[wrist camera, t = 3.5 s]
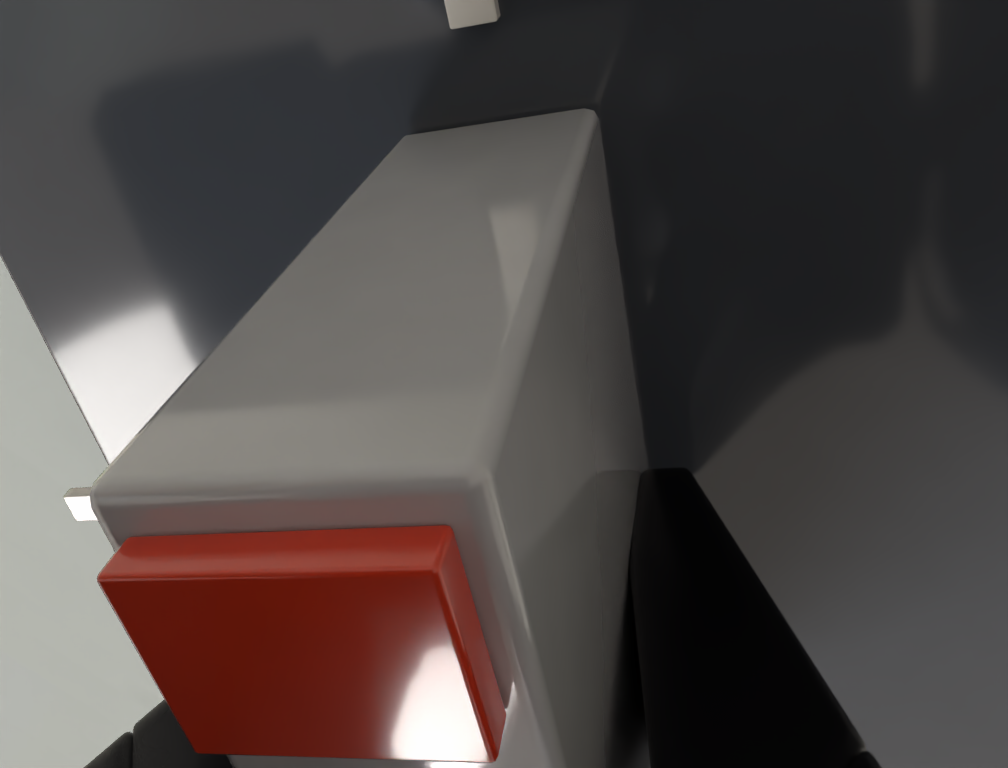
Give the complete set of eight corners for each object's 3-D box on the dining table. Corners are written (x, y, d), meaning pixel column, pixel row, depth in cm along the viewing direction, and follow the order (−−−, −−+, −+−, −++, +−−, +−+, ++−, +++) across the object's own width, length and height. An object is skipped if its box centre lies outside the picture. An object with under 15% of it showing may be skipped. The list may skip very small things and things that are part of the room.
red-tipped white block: (683, 718, 10) (681, 1292, 6) (546, 716, 11) (462, 1253, 7) (597, 102, 7) (471, 522, 3) (397, 133, 7) (30, 539, 3)
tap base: (1041, 660, 13) (1133, 879, 10) (324, 659, 15) (250, 830, 13) (1215, -432, 7) (1551, -588, 4) (-6, -118, 10) (-270, -92, 7)
